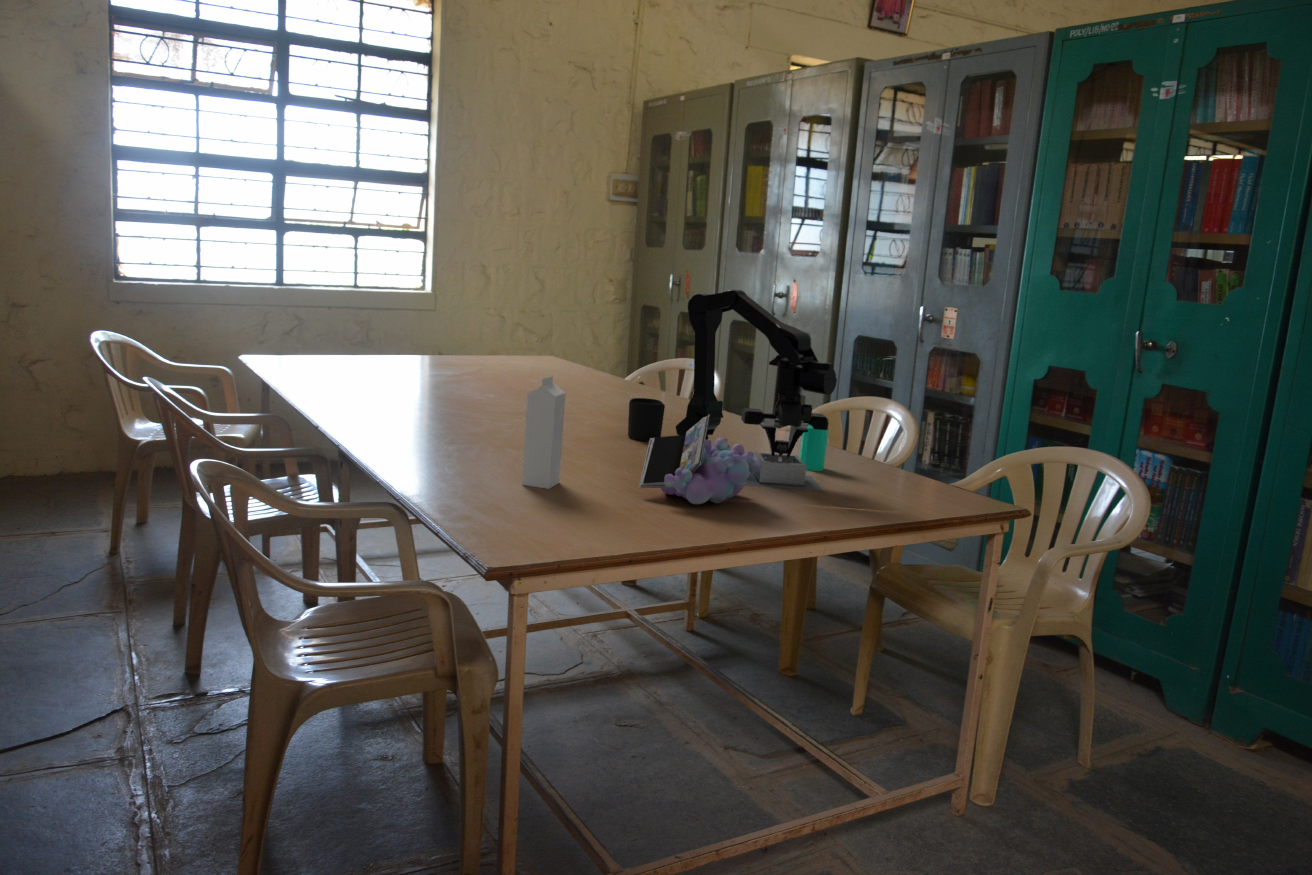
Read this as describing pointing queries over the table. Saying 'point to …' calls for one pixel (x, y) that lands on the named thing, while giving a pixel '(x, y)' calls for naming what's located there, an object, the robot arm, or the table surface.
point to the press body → (780, 470)
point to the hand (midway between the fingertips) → (780, 456)
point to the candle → (814, 448)
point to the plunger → (781, 448)
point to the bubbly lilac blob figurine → (697, 466)
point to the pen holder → (645, 418)
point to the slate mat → (808, 485)
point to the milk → (543, 435)
